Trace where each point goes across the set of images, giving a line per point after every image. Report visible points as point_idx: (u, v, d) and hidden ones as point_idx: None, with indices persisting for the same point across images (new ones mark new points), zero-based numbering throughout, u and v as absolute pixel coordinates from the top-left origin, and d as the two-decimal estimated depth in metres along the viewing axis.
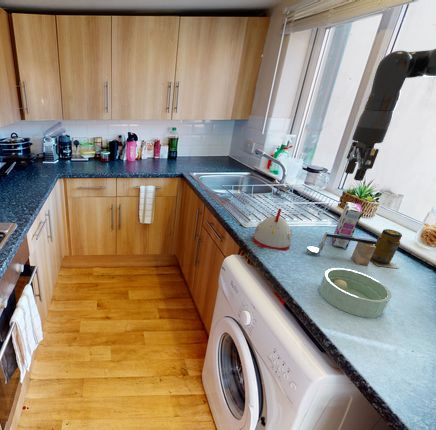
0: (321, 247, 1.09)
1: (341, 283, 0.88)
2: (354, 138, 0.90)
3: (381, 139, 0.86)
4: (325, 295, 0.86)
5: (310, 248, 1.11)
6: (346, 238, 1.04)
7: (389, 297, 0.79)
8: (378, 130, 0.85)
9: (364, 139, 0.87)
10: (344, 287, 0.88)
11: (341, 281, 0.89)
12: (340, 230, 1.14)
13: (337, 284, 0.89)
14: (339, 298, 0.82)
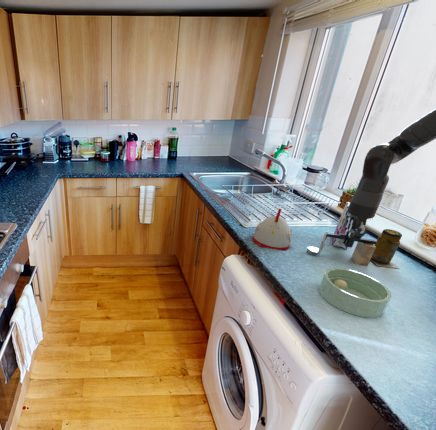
0: (321, 247, 1.09)
1: (341, 283, 0.88)
2: (349, 211, 1.01)
3: (372, 215, 0.97)
4: (325, 295, 0.86)
5: (310, 248, 1.11)
6: (346, 238, 1.04)
7: (389, 297, 0.79)
8: (370, 208, 0.96)
9: (357, 214, 0.98)
10: (344, 287, 0.88)
11: (341, 281, 0.89)
12: (340, 230, 1.14)
13: (337, 284, 0.89)
14: (339, 298, 0.82)
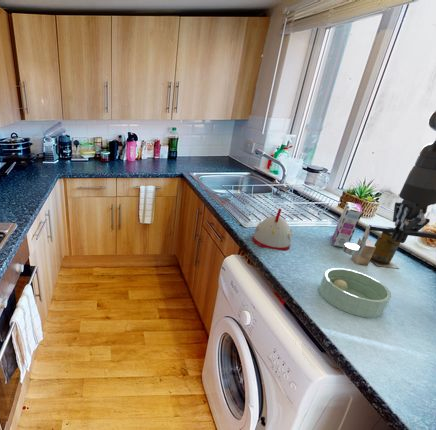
0: (363, 243, 0.87)
1: (341, 283, 0.88)
2: (402, 196, 0.78)
3: None
4: (325, 295, 0.86)
5: (348, 245, 0.89)
6: (397, 231, 0.82)
7: (389, 297, 0.79)
8: (433, 191, 0.73)
9: (415, 199, 0.76)
10: (344, 287, 0.88)
11: (341, 281, 0.89)
12: (340, 230, 1.14)
13: (337, 284, 0.89)
14: (339, 298, 0.82)
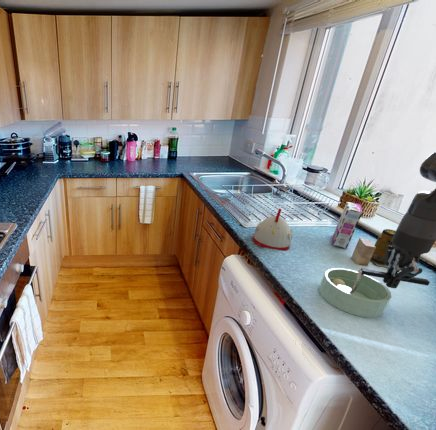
0: (355, 287, 0.84)
1: (338, 282, 0.89)
2: (394, 243, 0.76)
3: (429, 249, 0.73)
4: (325, 295, 0.86)
5: (340, 288, 0.87)
6: (389, 277, 0.80)
7: (389, 297, 0.79)
8: (426, 241, 0.71)
9: (408, 248, 0.74)
10: None
11: (337, 280, 0.90)
12: (340, 230, 1.14)
13: (334, 283, 0.89)
14: (339, 298, 0.82)
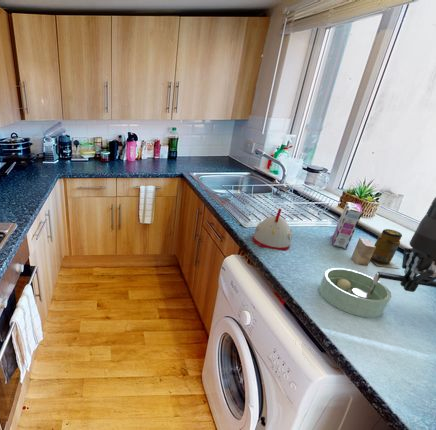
0: (371, 290, 0.84)
1: (348, 284, 0.88)
2: (413, 246, 0.75)
3: None
4: (325, 295, 0.86)
5: (356, 291, 0.86)
6: (407, 280, 0.79)
7: (389, 297, 0.79)
8: None
9: (427, 251, 0.73)
10: (350, 285, 0.89)
11: (345, 281, 0.89)
12: (340, 230, 1.14)
13: (345, 286, 0.88)
14: (339, 298, 0.82)
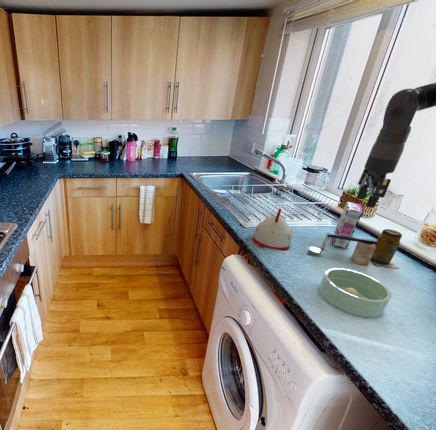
0: (323, 247, 1.09)
1: None
2: (366, 167, 0.94)
3: (393, 169, 0.90)
4: (325, 295, 0.86)
5: (312, 248, 1.11)
6: (348, 238, 1.04)
7: (389, 297, 0.79)
8: (390, 161, 0.89)
9: (376, 169, 0.91)
10: None
11: None
12: (340, 230, 1.14)
13: None
14: (339, 298, 0.82)
